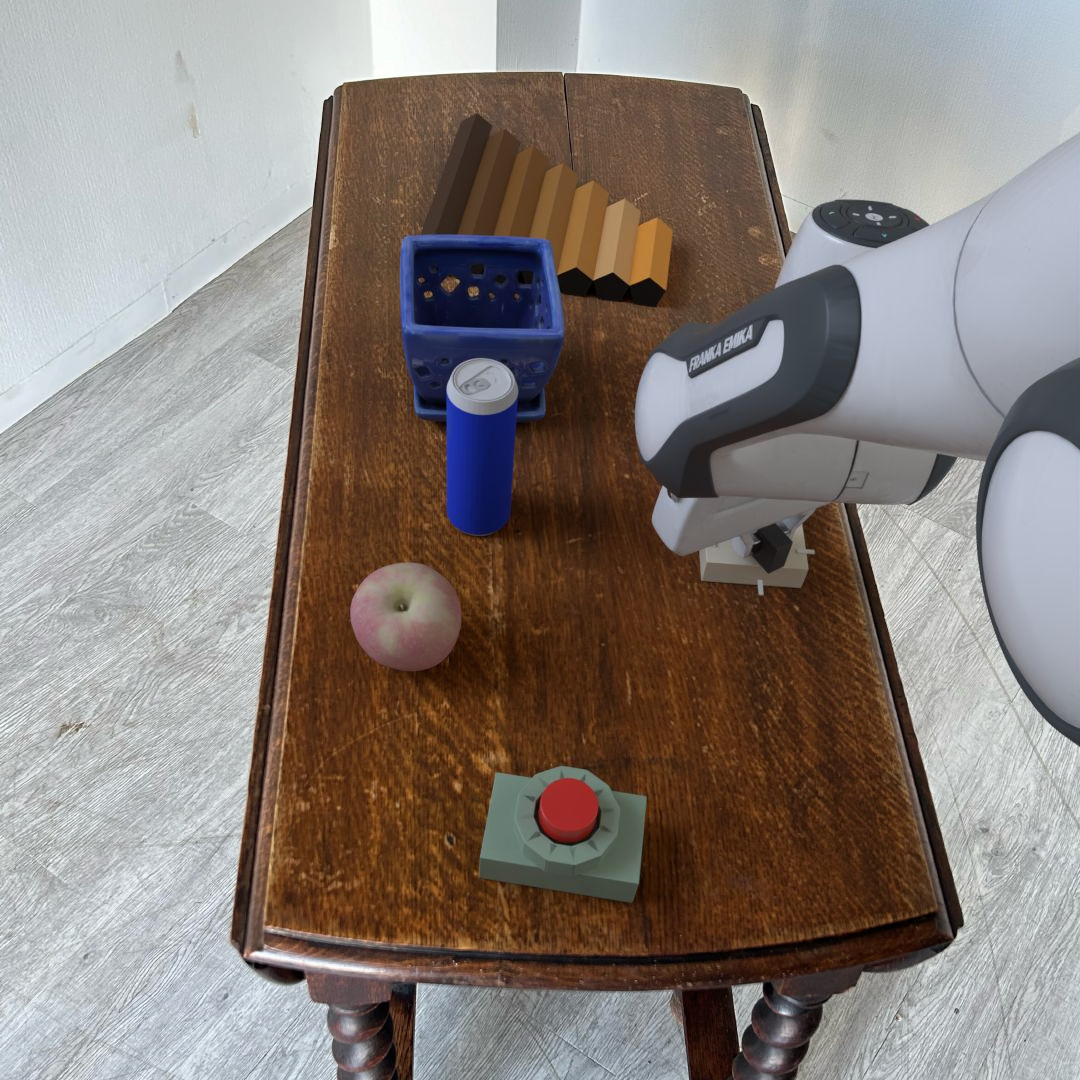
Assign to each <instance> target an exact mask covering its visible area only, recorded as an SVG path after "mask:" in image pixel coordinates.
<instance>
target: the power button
mask: <svg viewBox="0 0 1080 1080" xmlns="http://www.w3.org/2000/svg"><path fill="white" fill-rule="evenodd" d="M597 813H598V800H597V797H596V794H595V793H594V791H593V790H592V789H591V788H590V786H588V785H587V784H586V783H584V782H582V781H580V780H578V779H574V778H562V779H558V780H556V781H554V782H552V783H551V784H549V785H548V786H547V787H546V789H545V790H544V792H543V793H542V796H541V800H540V807H539V822H540V824H541V827H542V829H543V830H544V831H545V833H546V834H547V835H548V836H550V837H551V838H553V839H554V840H556V841H559V842H563V843H573V842H578V841H580V840H582V839H584V838H586V837H587V836H588V835H589V834H590V833H591V831H592V830H593V828H594V825H595V822H596V818H597Z"/></svg>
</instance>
